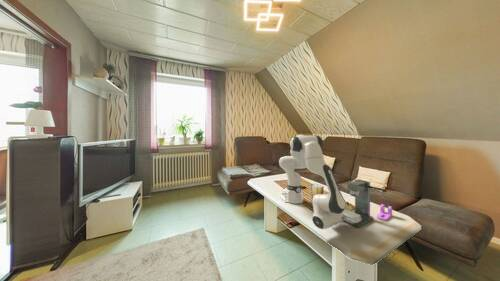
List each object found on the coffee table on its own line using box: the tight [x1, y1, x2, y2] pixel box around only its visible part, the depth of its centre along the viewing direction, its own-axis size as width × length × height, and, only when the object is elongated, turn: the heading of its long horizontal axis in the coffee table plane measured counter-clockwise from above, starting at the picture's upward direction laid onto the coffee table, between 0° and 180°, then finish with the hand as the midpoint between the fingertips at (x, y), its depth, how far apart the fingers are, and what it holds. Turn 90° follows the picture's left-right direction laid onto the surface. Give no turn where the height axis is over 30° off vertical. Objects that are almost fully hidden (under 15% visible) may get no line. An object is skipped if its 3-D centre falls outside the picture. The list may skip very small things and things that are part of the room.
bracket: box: [376, 203, 393, 222], centre depth 116 cm, size 13×6×7 cm, turn 126°
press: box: [342, 178, 387, 229], centre depth 109 cm, size 18×20×25 cm
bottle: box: [345, 201, 353, 211], centre depth 108 cm, size 5×5×10 cm
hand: (348, 209), depth 108 cm, fingers closed on bottle, 5 cm apart
